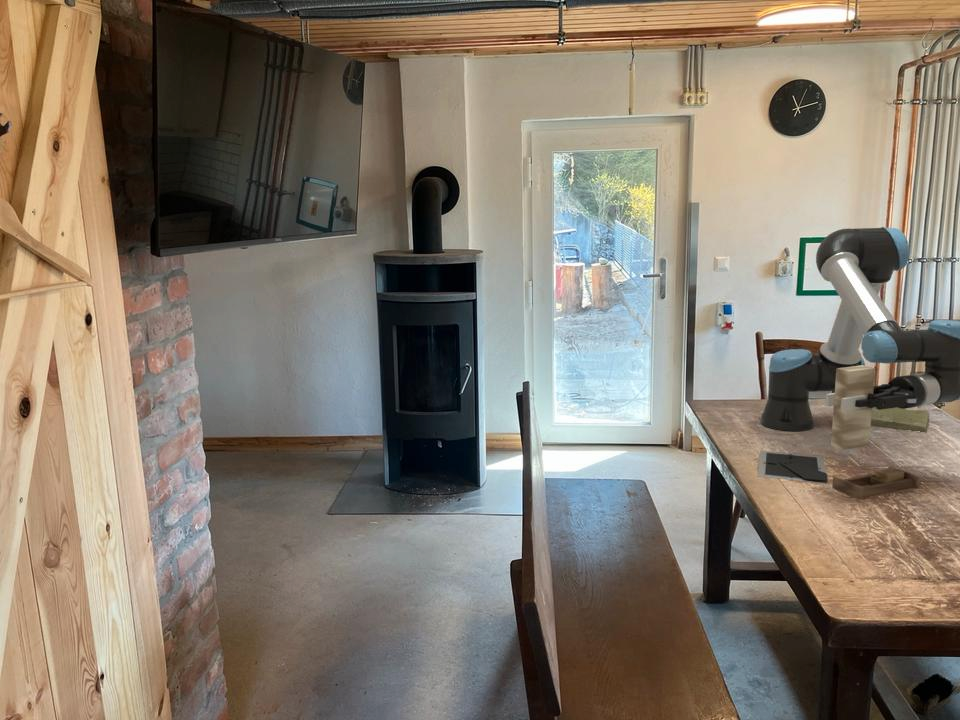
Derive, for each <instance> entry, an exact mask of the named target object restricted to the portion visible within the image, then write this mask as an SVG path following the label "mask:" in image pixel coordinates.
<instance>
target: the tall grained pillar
mask: <svg viewBox="0 0 960 720" xmlns="http://www.w3.org/2000/svg"><path fill="white" fill-rule="evenodd" d="M875 373H876V368H875V367H872V366H866V365H865V366H863V365H860V366H852V367H844V368H836V382H835V391H834V393H835V396H834V406H833V413H832V424H831V426H832V427H831V439H830V440H831V441H830V446H831V447H833V448H836V449H839V450H842V451H848V450H854V449H858V448H859V449H860V448H863V447H869V446H870V438H871V437H870V435H871V434H870V433H871V426H870V425H871V413H872V408H868V407H866V408H860V409H853V410H847V411H842V410H841V398H847V397H854V396H861V395H866V396H867V398H868V393H869V394H870V393H872V394H873V389H874V386H875ZM867 398H866V399H867Z"/></svg>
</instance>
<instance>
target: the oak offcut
mask: <svg viewBox="0 0 960 720" xmlns="http://www.w3.org/2000/svg"><path fill="white" fill-rule="evenodd" d="M874 474H875V478H876V479H879V480H881V481H884V482H885V483H888V482H893V481H898V480H904V472H902V471H899V470H896V469H893V468H883V469H877V470H875V473H874Z"/></svg>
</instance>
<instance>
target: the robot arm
mask: <svg viewBox="0 0 960 720" xmlns="http://www.w3.org/2000/svg"><path fill="white" fill-rule="evenodd" d="M909 259H910V246H909V242H908V239H907V237H906V235H905V234H904V232H903V231H902V230H901V229H899V228H896V227H884V226H881V227H868V228H866V227H862V228H861V227H860V228H841V229H837V230H835V231H833V232H831V233H829V234H828V235H826V237H825V238H824V239H823V240H822V241H821V242H820V243H819V246H818V248H817V251H816V255H815V263H816V267H817V270H818V272H819V274H820V275H821V277H822V278H823V280H825V281H826V282H828V283H829V282H830V284H831V285H832V286H833V288H834V290H835V291H836V293H837V295H838V296H839V298H840V299H841V300H840V304H839V308H838V310H837V313H836V317H835V319H834V322H833V324H832V325H833V326H832V328H831V331H830V335H829V337H828V340H827V342H824V343H822V344H821V346H820V348H819V350H818V353H812V351H811V350H809V349H804V348H803V349H802V348H799V349H797V348H796V349H795V348H791V349H784V350H780V351H776V352H775V353H774V354H772V355H771V357H770V361H769V366H768V370H769V371H768V373H769V374H768V393H767V394H768V395H767V401H766V403H765V406H764V410H763V412H762V413H761V415H760V424H761V425H763V427H767V428H770V429H773V430H778V431H788V432H803V431H808V430H811V429H812V428H814V417H813V416H812V410H811V406H810V403H809V399H810V397H809V396H810V392H811V393H812V392H832V393H826V394H825V404H824V405H825V407H834V396H835V382H836V368H844V367H852V366H860V365H863V366H866V363H865V360H866V361H867V362H868V363H872V364H873V363H874V364H887V365H888V364H896V363H898V364H899V363H900V364H901V363H902V364H903V363H924V372H921V373H920V372H919V373H914V374H908V375H899V376H896V377H893V378H892V379H891V380H890V381H888V383H883V384H880V385H874V389H873V394H872V393H870V394H869V393H868V398H867V396H866V395H861V396H854V397H847V398H841V410H842V411H847V410H853V409H860V408H866V407H868V408H874V407H876V409H878V410H882V409H890V408H901V409H906V410H907V409H910V408H911V409H912V408H918V409H919V408H922V406H930V405H935V404H945V403H952V402H956V401H959V400H960V321H959V320H951V319H937V320H931V321H929V323H928V327H927V329H916V330H915V329H910V330H909V329H908V330H904V329H902V326H900V324H899V323H898V322H897V321H896V319H895V318H894V316H893V315H892V314H891V312H890V310H889V309H888V307H887V306H886V305H885V303H884V302H883V300H882V299H881V297H880V296H879V295H880V291H881V288H882V285H884V284H887V283H888V282H890V280H891V278H892V276H893V274H894V272H895V271H896V272H897V271H900V270H903V269H904V268H905V267H906V266H907V264H908V262H909ZM860 346H861V350H862V353H861V352H860V350H859V349H860ZM864 359H865V360H864ZM866 398H867V399H866Z"/></svg>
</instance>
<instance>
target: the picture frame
mask: <svg viewBox="0 0 960 720" xmlns="http://www.w3.org/2000/svg"><path fill="white" fill-rule="evenodd" d="M758 459H759V460H758V469H757V477H759V478H768V479H776V480H786V481H796V482H797V481H798V482H807V483H816V484H822V485H823V484H824V485H825V484H826V485H828V481H829V478H828V473H827V471H826V464H825V458H824V455H812V454H803V453H800V454H799V453H792V452H791V453H790V452H780V451H769V450H759V458H758Z"/></svg>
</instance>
